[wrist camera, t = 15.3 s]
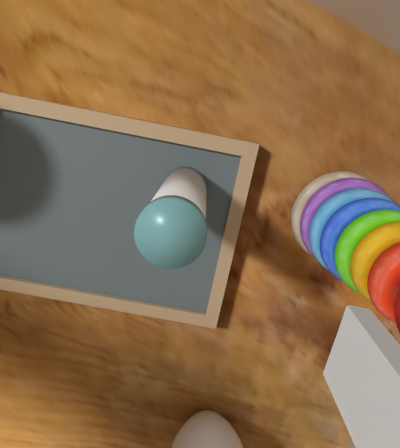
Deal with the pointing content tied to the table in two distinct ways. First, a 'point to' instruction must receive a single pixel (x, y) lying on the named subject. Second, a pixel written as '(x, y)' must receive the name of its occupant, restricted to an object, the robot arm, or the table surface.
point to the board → (111, 208)
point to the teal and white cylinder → (174, 221)
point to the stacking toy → (353, 236)
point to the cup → (207, 432)
